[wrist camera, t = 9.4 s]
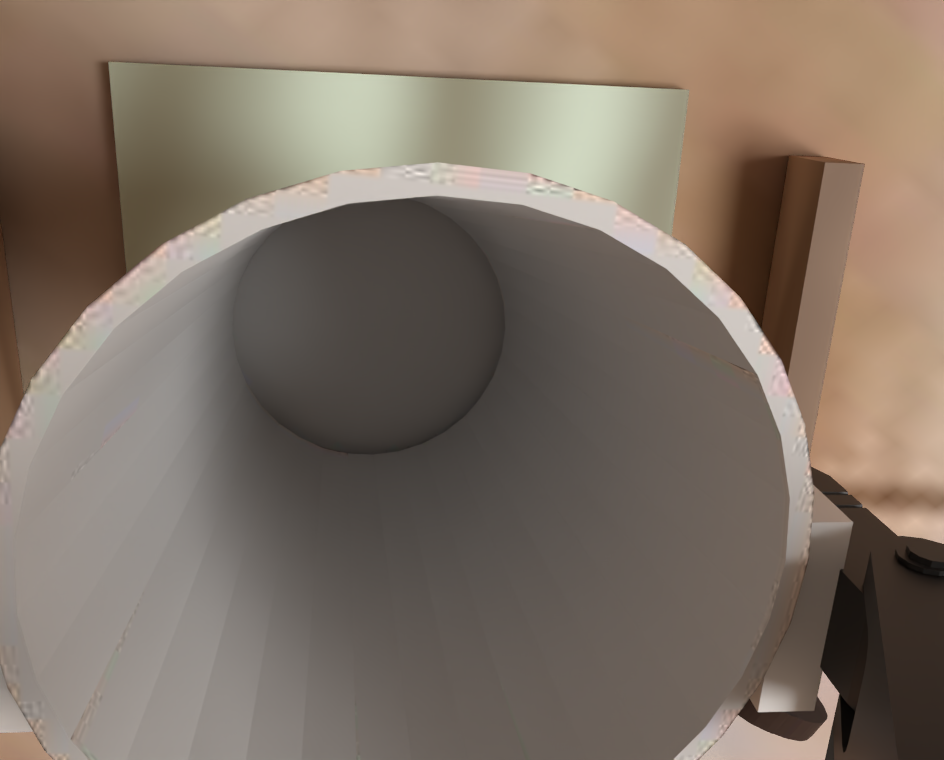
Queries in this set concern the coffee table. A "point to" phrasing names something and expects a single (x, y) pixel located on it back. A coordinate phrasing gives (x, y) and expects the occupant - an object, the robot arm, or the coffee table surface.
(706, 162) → the coffee table surface
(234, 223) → the coffee mug
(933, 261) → the coffee table surface
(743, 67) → the coffee table surface
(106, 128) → the coffee table surface
